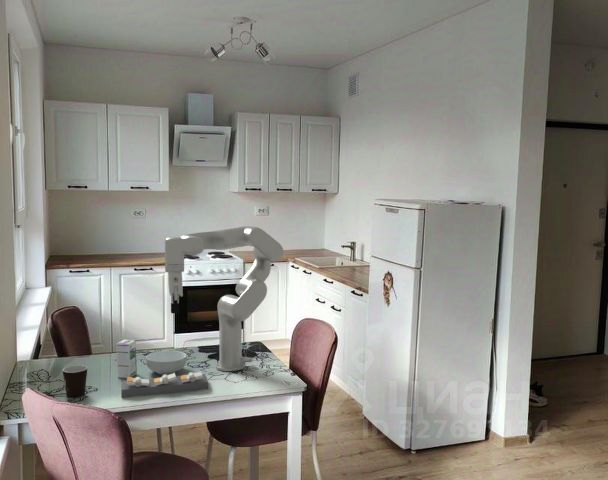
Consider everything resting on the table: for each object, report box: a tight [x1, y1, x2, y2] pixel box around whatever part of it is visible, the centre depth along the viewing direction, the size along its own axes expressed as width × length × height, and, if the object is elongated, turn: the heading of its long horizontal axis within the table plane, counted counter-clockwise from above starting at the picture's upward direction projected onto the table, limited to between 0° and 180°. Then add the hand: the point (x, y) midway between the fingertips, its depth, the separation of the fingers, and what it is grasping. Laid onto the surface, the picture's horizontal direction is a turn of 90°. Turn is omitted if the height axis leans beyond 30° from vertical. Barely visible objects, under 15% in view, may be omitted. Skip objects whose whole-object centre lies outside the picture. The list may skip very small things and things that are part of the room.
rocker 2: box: [180, 371, 203, 383], centre depth 220 cm, size 8×4×2 cm, turn 107°
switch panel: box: [120, 373, 209, 399], centre depth 220 cm, size 32×10×3 cm, turn 107°
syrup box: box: [115, 339, 138, 379], centre depth 234 cm, size 6×6×14 cm
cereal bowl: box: [145, 350, 188, 376], centre depth 240 cm, size 17×17×7 cm
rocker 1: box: [126, 376, 150, 387], centre depth 215 cm, size 8×4×2 cm, turn 107°
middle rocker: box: [154, 372, 177, 386], centre depth 217 cm, size 8×4×2 cm, turn 108°
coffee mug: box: [62, 364, 88, 399], centre depth 214 cm, size 12×9×10 cm
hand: (175, 312), depth 230 cm, fingers closed
